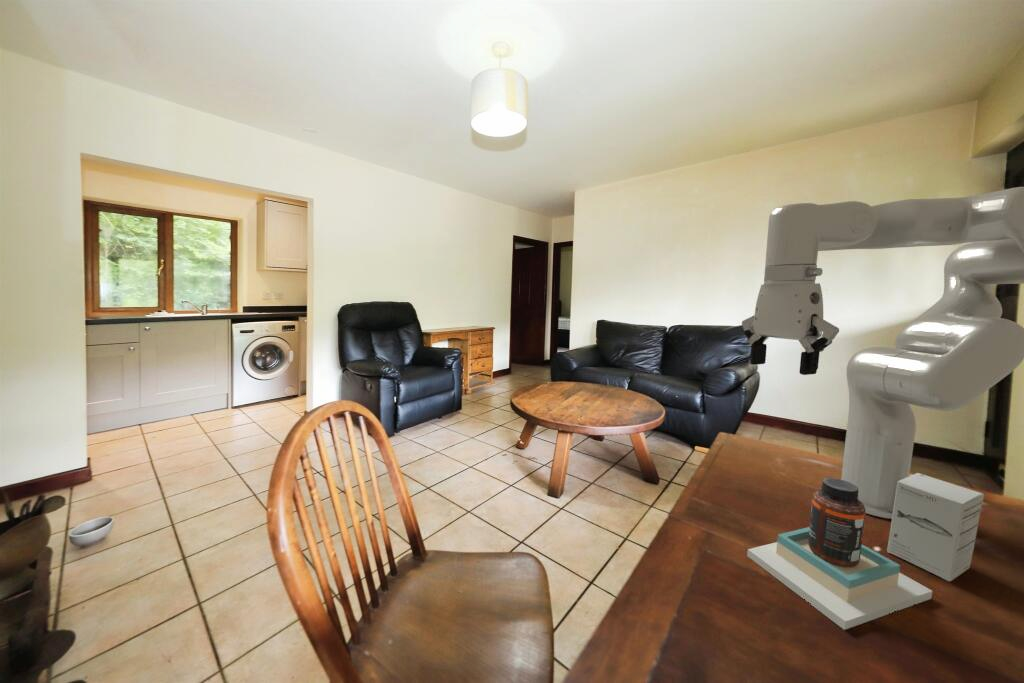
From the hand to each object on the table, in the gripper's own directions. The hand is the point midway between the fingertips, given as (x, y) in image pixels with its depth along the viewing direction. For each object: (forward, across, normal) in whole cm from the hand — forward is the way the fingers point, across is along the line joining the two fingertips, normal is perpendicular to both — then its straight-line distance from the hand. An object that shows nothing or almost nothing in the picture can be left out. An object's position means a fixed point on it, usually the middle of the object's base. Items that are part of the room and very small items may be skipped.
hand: (781, 368), depth 70 cm
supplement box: (+28, -18, -11) cm, 35 cm away
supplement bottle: (+25, -16, +7) cm, 31 cm away
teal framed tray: (+28, -16, +7) cm, 33 cm away
